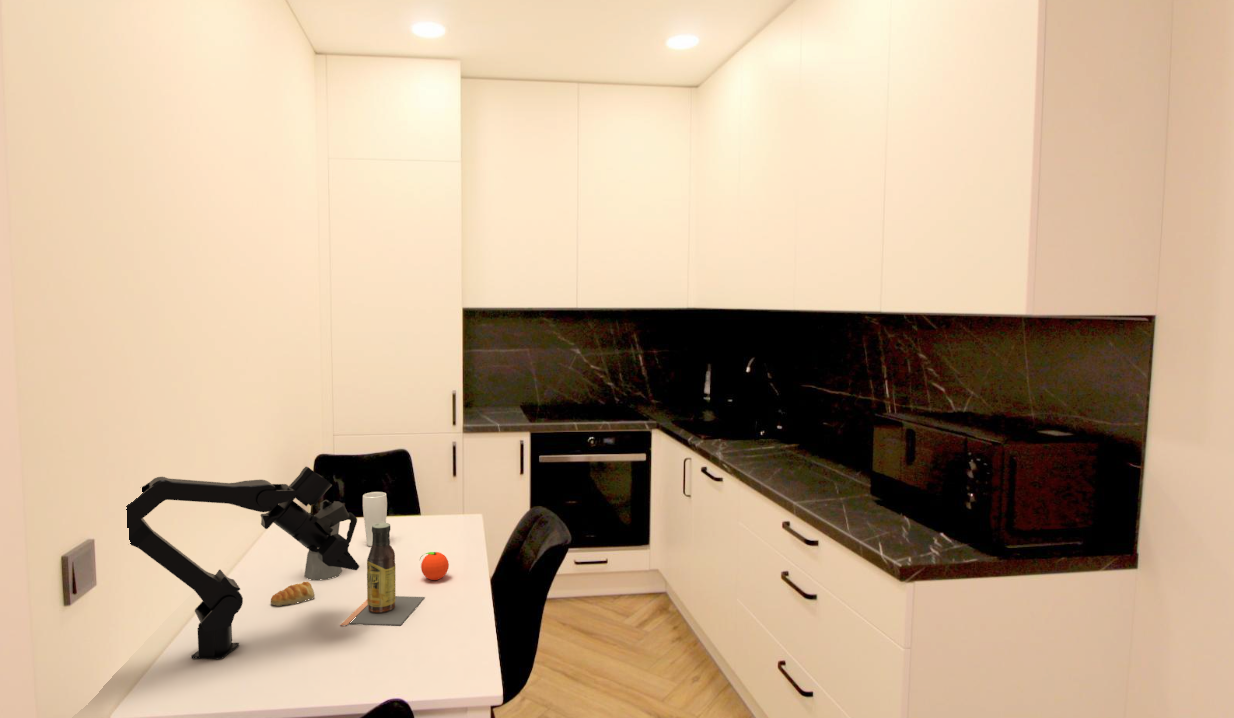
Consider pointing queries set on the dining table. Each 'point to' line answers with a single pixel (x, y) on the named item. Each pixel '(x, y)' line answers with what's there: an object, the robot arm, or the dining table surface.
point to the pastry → (293, 594)
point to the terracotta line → (355, 613)
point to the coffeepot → (321, 570)
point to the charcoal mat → (390, 613)
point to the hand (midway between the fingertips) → (350, 562)
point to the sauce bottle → (381, 571)
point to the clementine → (434, 565)
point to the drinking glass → (374, 512)
